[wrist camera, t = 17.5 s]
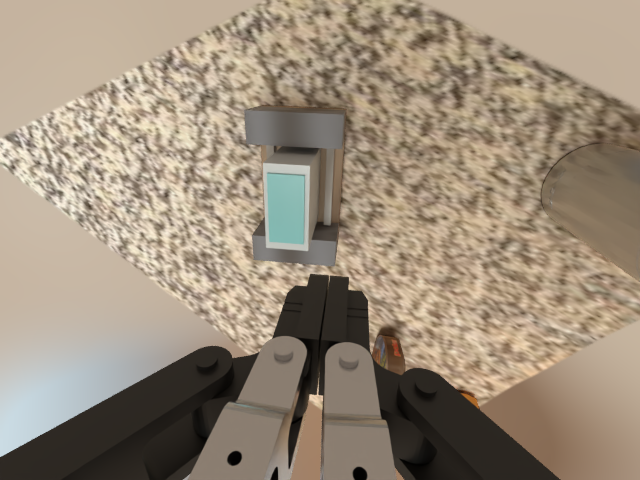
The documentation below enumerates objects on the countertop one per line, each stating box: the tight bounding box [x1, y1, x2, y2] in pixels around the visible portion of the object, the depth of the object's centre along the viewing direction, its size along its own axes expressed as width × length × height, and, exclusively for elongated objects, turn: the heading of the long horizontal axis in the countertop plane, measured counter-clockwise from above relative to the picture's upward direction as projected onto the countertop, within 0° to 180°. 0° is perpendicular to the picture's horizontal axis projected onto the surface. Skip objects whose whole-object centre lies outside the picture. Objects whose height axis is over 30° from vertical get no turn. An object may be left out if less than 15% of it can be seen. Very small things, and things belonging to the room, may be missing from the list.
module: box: [263, 146, 321, 251], centre depth 33 cm, size 4×8×9 cm, turn 178°
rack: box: [244, 105, 346, 266], centre depth 36 cm, size 9×16×6 cm, turn 178°
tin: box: [372, 335, 405, 375], centre depth 46 cm, size 15×3×8 cm, turn 173°
